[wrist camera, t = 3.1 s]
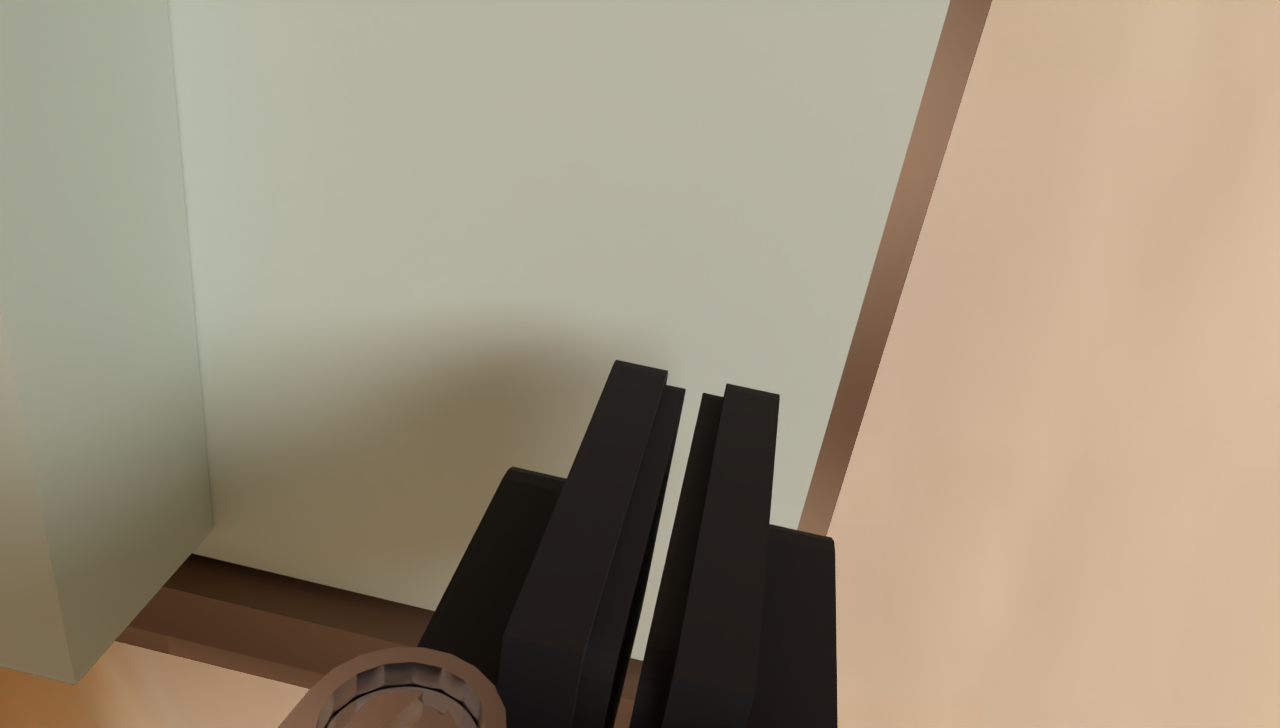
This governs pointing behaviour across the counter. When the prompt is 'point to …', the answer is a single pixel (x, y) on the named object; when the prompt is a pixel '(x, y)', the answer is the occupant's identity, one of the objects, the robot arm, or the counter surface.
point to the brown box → (358, 624)
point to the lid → (405, 269)
